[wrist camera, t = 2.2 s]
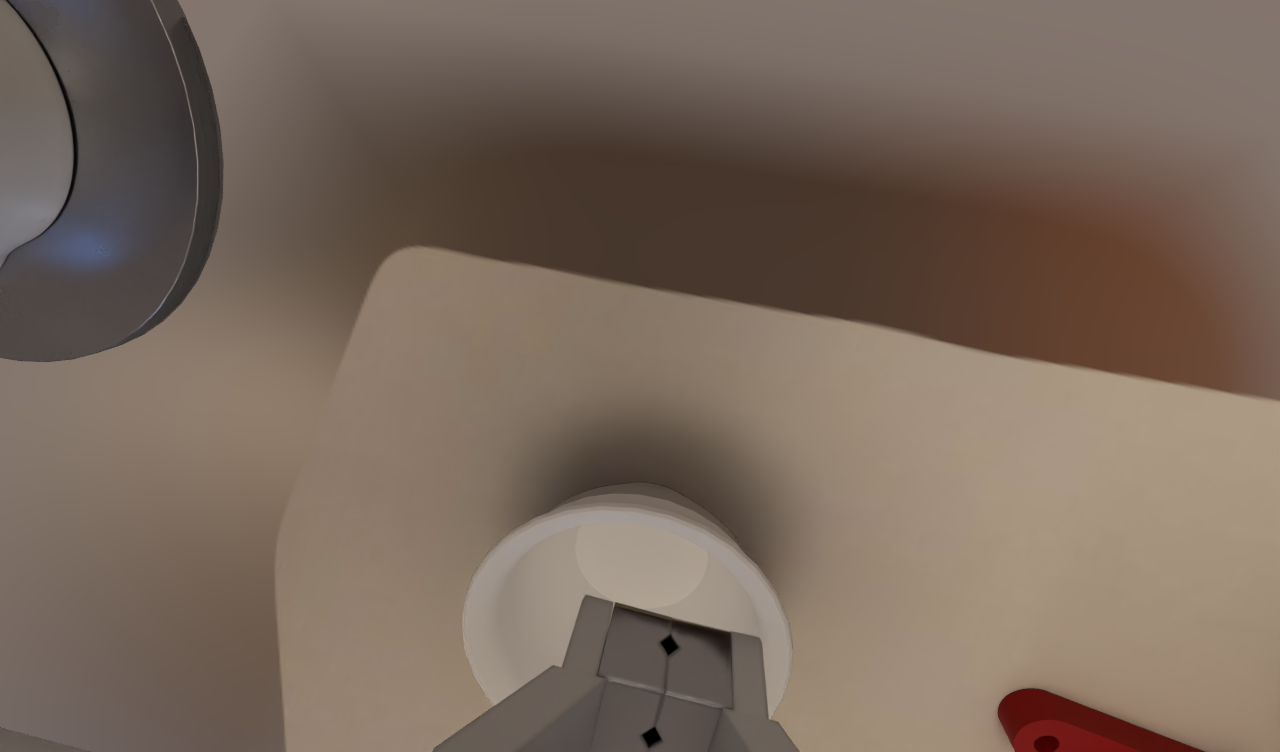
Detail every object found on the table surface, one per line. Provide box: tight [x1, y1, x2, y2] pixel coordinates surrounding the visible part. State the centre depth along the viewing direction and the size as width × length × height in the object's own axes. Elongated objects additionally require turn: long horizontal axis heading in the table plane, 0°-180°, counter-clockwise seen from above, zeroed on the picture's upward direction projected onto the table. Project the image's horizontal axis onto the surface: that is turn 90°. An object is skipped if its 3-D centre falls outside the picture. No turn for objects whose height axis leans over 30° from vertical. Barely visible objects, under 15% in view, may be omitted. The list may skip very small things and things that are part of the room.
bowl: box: [462, 482, 793, 720], centre depth 34 cm, size 16×16×9 cm
